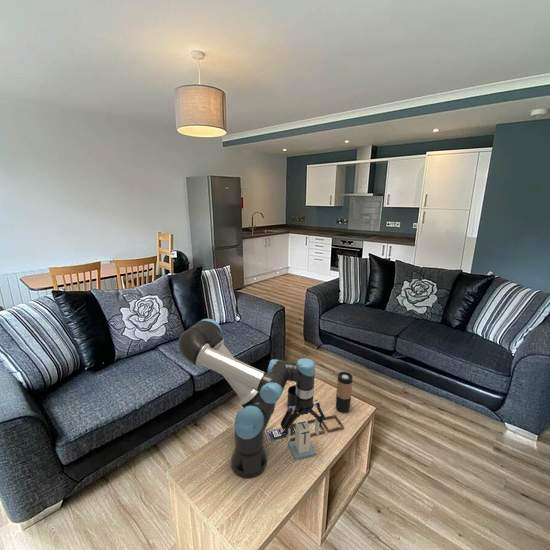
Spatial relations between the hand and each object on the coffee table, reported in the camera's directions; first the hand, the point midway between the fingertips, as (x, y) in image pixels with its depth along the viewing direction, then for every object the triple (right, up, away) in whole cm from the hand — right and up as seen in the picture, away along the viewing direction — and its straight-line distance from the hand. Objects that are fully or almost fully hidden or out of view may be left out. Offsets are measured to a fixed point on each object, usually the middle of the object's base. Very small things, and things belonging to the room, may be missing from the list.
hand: (302, 436), depth 128 cm
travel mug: (+24, -1, +28) cm, 37 cm away
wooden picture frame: (-3, -5, +11) cm, 12 cm away
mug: (0, 0, +31) cm, 31 cm away
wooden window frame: (+7, -4, +14) cm, 16 cm away
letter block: (0, -6, +1) cm, 6 cm away
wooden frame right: (+16, -4, +17) cm, 23 cm away
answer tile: (0, -7, +2) cm, 7 cm away
